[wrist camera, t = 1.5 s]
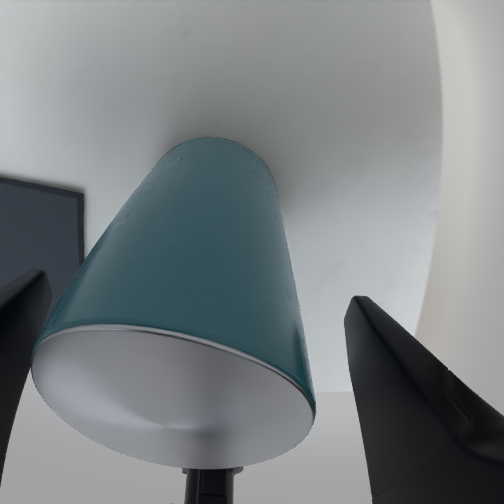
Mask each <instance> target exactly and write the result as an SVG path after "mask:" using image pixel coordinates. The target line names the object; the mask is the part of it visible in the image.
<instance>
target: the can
mask: <svg viewBox="0 0 504 504" xmlns="http://www.w3.org/2000/svg"><path fill="white" fill-rule="evenodd" d="M30 366H31V373H32V378H33V381H34V383H35V386H36V388H37V390H38V391H39V393H40V395H41V397H42V398H43V399H44V401H45V402H46V403H47V405H48V406H49V407H50V408H51V409H52V410H53V411H54V412H55V413H56V414H57V415H58V416H59V417H60V418H61V419H62V420H64V421H65V422H66V423H68V424H69V425H70V426H71V427H73V428H74V429H76V430H77V431H79V432H80V433H82V434H83V435H85V436H86V437H88V438H90V439H92V440H94V441H95V442H97V443H99V444H101V445H103V446H105V447H107V448H110V449H112V450H114V451H117V452H119V453H122V454H125V455H127V456H131V457H134V458H137V459H140V460H144V461H147V462H152V463H156V464H161V465H167V466H172V467H180V468H190V469H225V468H235V467H242V466H247V465H252V464H256V463H260V462H264V461H266V460H269V459H272V458H275V457H277V456H280V455H282V454H284V453H286V452H287V451H289V450H291V449H292V448H294V447H295V446H297V445H298V444H299V443H300V442H301V441H302V440H303V439H304V438H305V437H306V436H307V435H308V433H309V431H310V429H311V427H312V425H313V423H314V419H315V415H316V402H315V396H314V389H313V383H312V377H311V371H310V365H309V359H308V353H307V347H306V341H305V335H304V330H303V324H302V319H301V313H300V308H299V302H298V297H297V291H296V286H295V281H294V276H293V270H292V265H291V260H290V255H289V250H288V245H287V240H286V235H285V230H284V225H283V220H282V216H281V211H280V206H279V201H278V197H277V192H276V187H275V184H274V181H273V178H272V176H271V174H270V171H269V170H268V168H267V167H266V165H265V164H264V162H263V161H262V160H261V159H260V158H259V157H258V156H257V155H256V154H255V153H253V152H252V151H251V150H249V149H248V148H246V147H245V146H243V145H240V144H238V143H236V142H233V141H230V140H227V139H221V138H199V139H194V140H190V141H187V142H185V143H182V144H180V145H178V146H177V147H175V148H173V149H172V150H171V151H169V152H168V153H167V154H166V155H165V156H164V157H163V158H162V159H161V160H160V161H159V162H158V164H157V165H156V166H155V167H154V168H153V169H152V171H151V172H150V173H149V174H148V176H147V177H146V178H145V179H144V180H143V182H142V183H141V184H140V185H139V187H138V188H137V189H136V190H135V192H134V193H133V194H132V196H131V197H130V198H129V199H128V201H127V202H126V203H125V205H124V206H123V207H122V208H121V210H120V211H119V212H118V214H117V215H116V216H115V218H114V219H113V221H112V222H111V223H110V225H109V226H108V227H107V229H106V230H105V232H104V233H103V234H102V236H101V237H100V239H99V240H98V241H97V243H96V244H95V246H94V247H93V249H92V250H91V252H90V253H89V254H88V256H87V257H86V259H85V260H84V262H83V263H82V265H81V266H80V268H79V269H78V271H77V273H76V274H75V276H74V277H73V279H72V280H71V282H70V284H69V285H68V287H67V288H66V290H65V292H64V293H63V295H62V296H61V298H60V300H59V301H58V303H57V305H56V306H55V308H54V310H53V312H52V313H51V315H50V317H49V318H48V320H47V322H46V324H45V326H44V327H43V329H42V331H41V333H40V335H39V336H38V338H37V340H36V342H35V344H34V347H33V349H32V352H31V362H30Z"/></svg>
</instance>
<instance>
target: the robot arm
mask: <svg viewBox="0 0 504 504" xmlns="http://www.w3.org/2000/svg"><path fill="white" fill-rule="evenodd" d="M52 300H53V290H52V287H51V284H50V281H49V278H48V275H47V273H46V272H45V271H44V270H38V269H34V270H32V271H30V272H28V273H26V274H24V275H23V276H21V277H19V278H18V279H16V280H14V281H12V282H11V283H9V284H7V285H6V286H4V287H2V288H1V289H0V485H1V479H2V473H3V468H4V462H5V457H6V455H5V454H6V452H7V447H8V443H9V438H10V434H11V430H12V426H13V422H14V419H15V415H16V411H17V408H18V404H19V401H20V398H21V394H22V391H23V388H24V385H25V382H26V379H27V375H28V373H29V370H30V367H31V366H30V362H31V352H32V349H33V347H34V344H35V342H36V340H37V338H38V336H39V335H40V333H41V331H42V329H43V327H44V326H45V322H46V319H47V316H48V312H49V309H50V306H51V303H52ZM344 328H345V337H346V346H347V355H348V365H349V372H350V377H351V382H352V387H353V391H354V396H355V401H356V406H357V411H358V416H359V421H360V427H361V432H362V438H363V444H364V449H365V454H366V461H367V467H368V474H369V480H370V487H371V494H372V502H373V504H504V416H503V415H502V414H500V413H499V412H498V411H497V410H495V409H494V408H493V407H492V406H490V405H489V404H488V403H486V402H485V401H484V400H483V399H482V398H481V397H479V396H478V395H477V394H476V393H475V392H473V391H472V390H471V389H470V388H469V387H468V386H467V385H465V384H464V383H463V382H462V381H461V380H460V379H459V378H458V377H456V375H454V374H453V373H452V372H451V371H450V370H448V368H447V367H446V366H445V365H443V363H441V362H440V361H439V360H438V359H437V358H436V357H435V356H434V355H433V354H432V353H431V352H430V351H428V350H427V349H426V348H425V347H424V346H423V345H422V344H421V343H420V342H419V341H417V340H416V339H415V338H414V337H413V336H412V335H411V334H410V333H409V332H407V331H406V330H405V329H404V328H403V327H402V326H401V325H400V324H398V323H397V322H396V321H395V320H394V319H393V318H392V317H390V316H389V315H388V314H387V313H386V312H385V311H384V310H383V309H381V308H380V307H379V306H378V305H377V304H376V303H374V302H373V301H372V300H371V299H370V298H369V297H367V296H354V297H353V298H352V299H351V302H350V304H349V307H348V310H347V312H346V315H345V318H344ZM241 468H242V467H235V468H225V469H190V468H183V470H182V473H185V474H187V478H186V490H185V502H184V504H233V480H234V475H235V474H236V473H237V472H238V471H239V470H240V469H241Z"/></svg>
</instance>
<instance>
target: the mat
mask: <svg viewBox="0 0 504 504" xmlns="http://www.w3.org/2000/svg"><path fill="white" fill-rule="evenodd" d="M83 262H84V259H83V194H80V193H75V192H71V191H66V190H61V189H56V188H51V187H46V186H41V185H36V184H31V183H26V182H21V181H16V180H11V179H6V178H0V289H1V288H2V287H4V286H6V285H7V284H9V283H11V282H12V281H14V280H16V279H18V278H19V277H21V276H23V275H24V274H26V273H28V272H30V271H32V270H34V269H38V270H44V271H45V272H46V273H47V275H48V278H49V281H50V284H51V287H52V290H53V300H52V303H51V306H50V309H49V312H48V316H47V319H46V322H47V320H48V318H49V317H50V315H51V313H52V312H53V310H54V308H55V306H56V305H57V303H58V301H59V300H60V298H61V296H62V295H63V293H64V292H65V290H66V288H67V287H68V285H69V284H70V282H71V280H72V279H73V277H74V276H75V274H76V273H77V271H78V269H79V268H80V266H81V265H82V263H83ZM46 322H45V324H46Z"/></svg>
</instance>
